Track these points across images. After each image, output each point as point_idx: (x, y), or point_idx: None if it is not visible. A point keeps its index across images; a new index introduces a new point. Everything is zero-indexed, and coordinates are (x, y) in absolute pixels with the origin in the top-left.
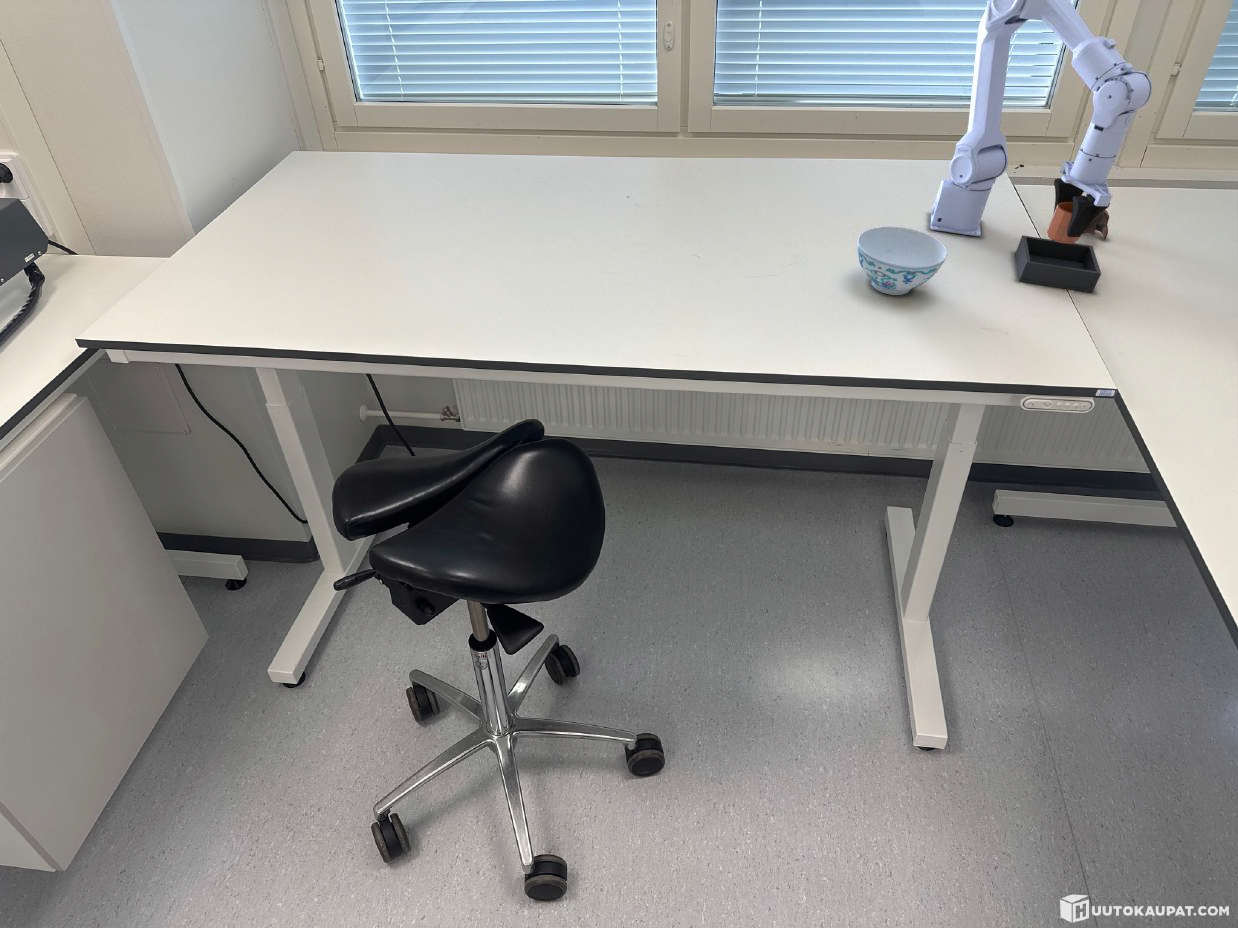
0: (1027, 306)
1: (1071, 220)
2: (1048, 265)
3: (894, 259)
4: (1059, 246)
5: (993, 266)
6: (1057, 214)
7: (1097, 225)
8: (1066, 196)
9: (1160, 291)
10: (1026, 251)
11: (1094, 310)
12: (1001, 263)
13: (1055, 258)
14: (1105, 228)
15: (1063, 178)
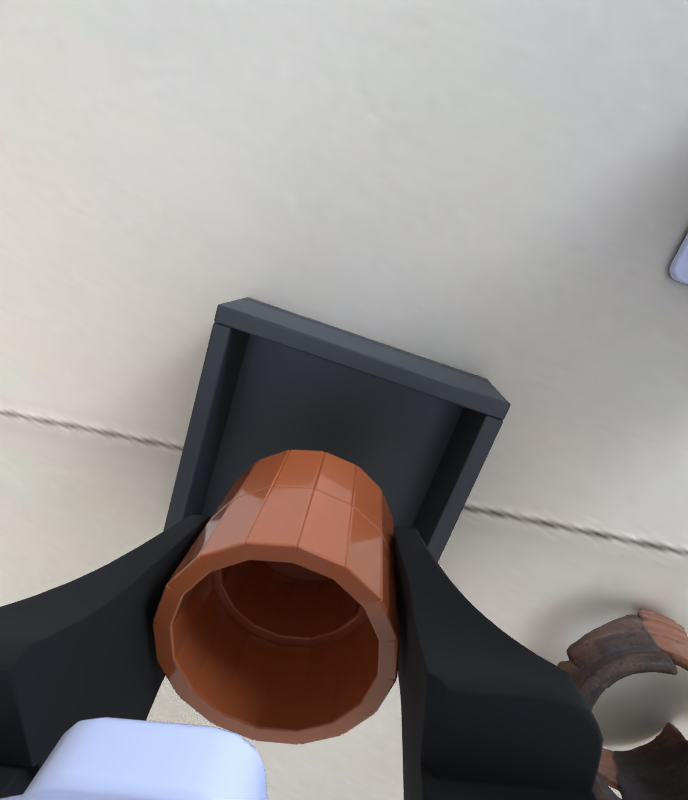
0: (52, 249)
1: (149, 559)
2: (198, 395)
3: None
4: (424, 537)
5: (376, 234)
6: (267, 516)
7: (648, 763)
8: (411, 677)
9: None
10: (331, 350)
11: (72, 480)
12: (404, 284)
13: (419, 511)
14: (600, 772)
15: (139, 761)
